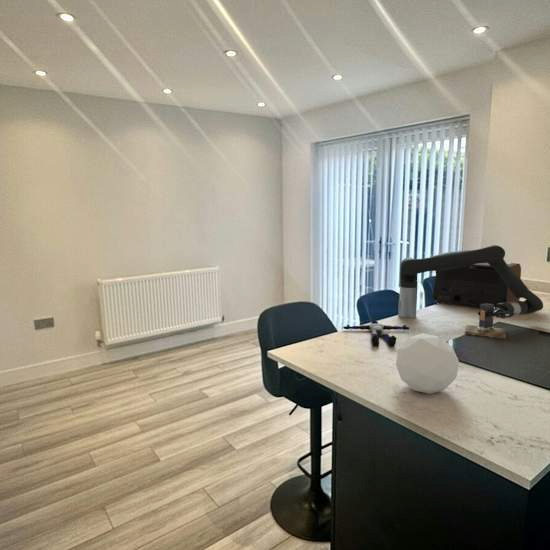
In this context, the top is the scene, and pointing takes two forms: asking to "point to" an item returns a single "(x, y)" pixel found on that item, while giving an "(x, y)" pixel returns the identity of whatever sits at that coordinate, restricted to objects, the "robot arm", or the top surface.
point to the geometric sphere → (427, 363)
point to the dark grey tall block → (483, 320)
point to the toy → (379, 332)
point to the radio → (473, 286)
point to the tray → (485, 331)
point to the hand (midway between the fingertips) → (482, 314)
